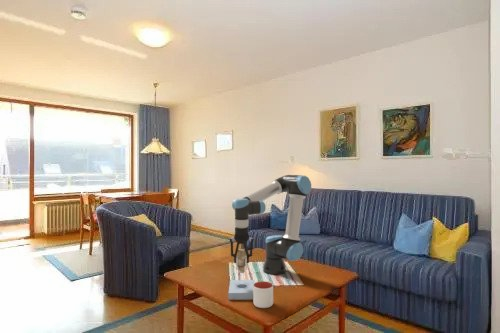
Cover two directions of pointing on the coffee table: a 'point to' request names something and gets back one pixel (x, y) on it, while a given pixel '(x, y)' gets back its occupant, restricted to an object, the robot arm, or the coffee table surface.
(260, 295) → the cup
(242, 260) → the peg
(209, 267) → the coffee table surface
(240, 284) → the board
